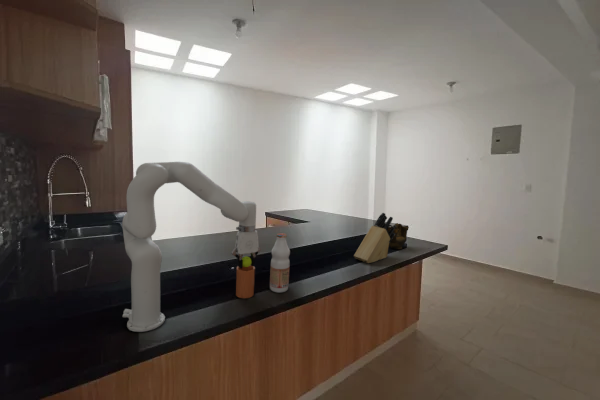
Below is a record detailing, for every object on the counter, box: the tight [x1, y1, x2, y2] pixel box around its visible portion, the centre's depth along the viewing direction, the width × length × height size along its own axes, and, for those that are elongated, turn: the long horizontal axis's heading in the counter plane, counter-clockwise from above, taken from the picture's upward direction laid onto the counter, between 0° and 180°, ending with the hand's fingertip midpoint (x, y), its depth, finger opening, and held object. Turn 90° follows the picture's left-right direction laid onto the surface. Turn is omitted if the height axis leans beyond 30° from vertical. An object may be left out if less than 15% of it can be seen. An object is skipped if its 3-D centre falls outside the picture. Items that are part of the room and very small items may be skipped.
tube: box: [235, 265, 256, 299], centre depth 137 cm, size 8×8×13 cm
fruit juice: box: [269, 232, 291, 293], centre depth 144 cm, size 9×9×28 cm
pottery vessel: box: [387, 222, 409, 250], centre depth 232 cm, size 25×11×20 cm, turn 132°
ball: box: [242, 255, 252, 267], centre depth 136 cm, size 5×5×5 cm
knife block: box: [353, 212, 396, 264], centre depth 202 cm, size 11×35×31 cm, turn 133°
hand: (246, 266), depth 136 cm, fingers closed on ball, 5 cm apart
